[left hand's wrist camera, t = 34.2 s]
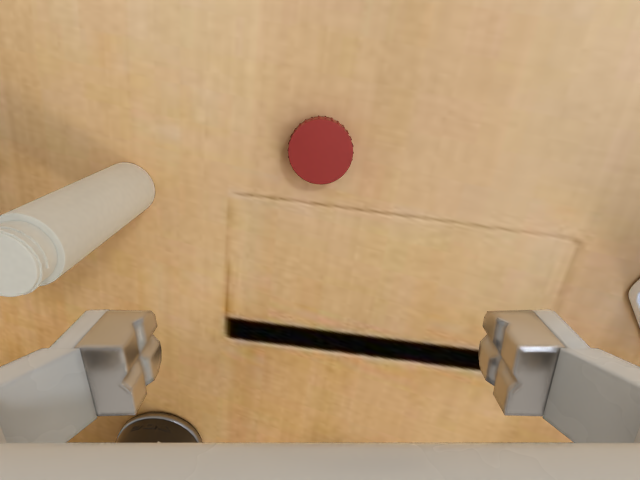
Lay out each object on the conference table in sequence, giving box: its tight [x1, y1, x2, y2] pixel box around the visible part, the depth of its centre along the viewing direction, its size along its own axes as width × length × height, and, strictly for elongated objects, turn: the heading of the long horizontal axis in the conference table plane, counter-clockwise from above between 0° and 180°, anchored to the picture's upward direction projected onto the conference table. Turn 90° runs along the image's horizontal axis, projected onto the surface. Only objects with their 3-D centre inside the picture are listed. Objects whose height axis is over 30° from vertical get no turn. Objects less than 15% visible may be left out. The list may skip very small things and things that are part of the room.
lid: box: [288, 116, 353, 184], centre depth 34 cm, size 5×5×2 cm
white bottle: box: [0, 162, 155, 297], centre depth 29 cm, size 4×4×16 cm
